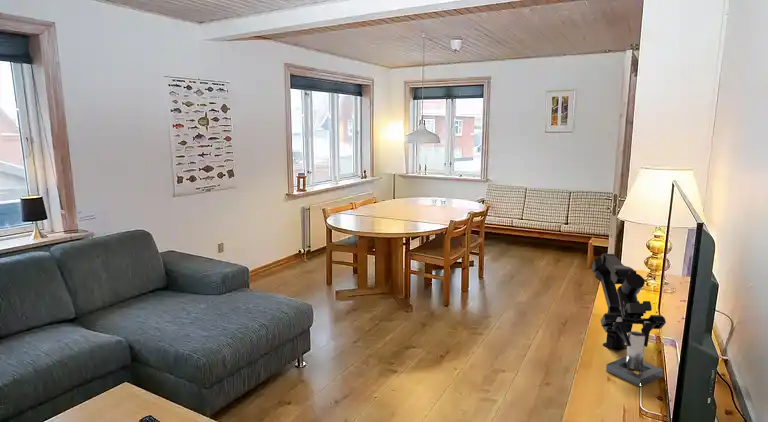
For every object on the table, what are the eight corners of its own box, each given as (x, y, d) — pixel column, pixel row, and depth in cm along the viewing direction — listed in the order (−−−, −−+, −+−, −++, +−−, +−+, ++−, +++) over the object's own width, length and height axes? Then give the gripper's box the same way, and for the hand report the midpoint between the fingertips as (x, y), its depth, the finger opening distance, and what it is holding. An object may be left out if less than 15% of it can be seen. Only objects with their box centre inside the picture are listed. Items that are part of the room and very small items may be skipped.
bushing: (628, 360, 164) (630, 329, 162) (644, 365, 160) (647, 333, 158) (623, 366, 160) (625, 334, 158) (640, 371, 157) (642, 338, 155)
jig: (628, 362, 168) (629, 355, 168) (662, 376, 158) (663, 369, 158) (606, 371, 163) (606, 364, 162) (639, 387, 152) (640, 379, 152)
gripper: (605, 290, 161) (612, 335, 152) (665, 292, 158) (677, 338, 149) (597, 304, 170) (604, 347, 162) (655, 306, 167) (665, 350, 158)
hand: (637, 346), depth 157 cm, fingers closed on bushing, 5 cm apart
